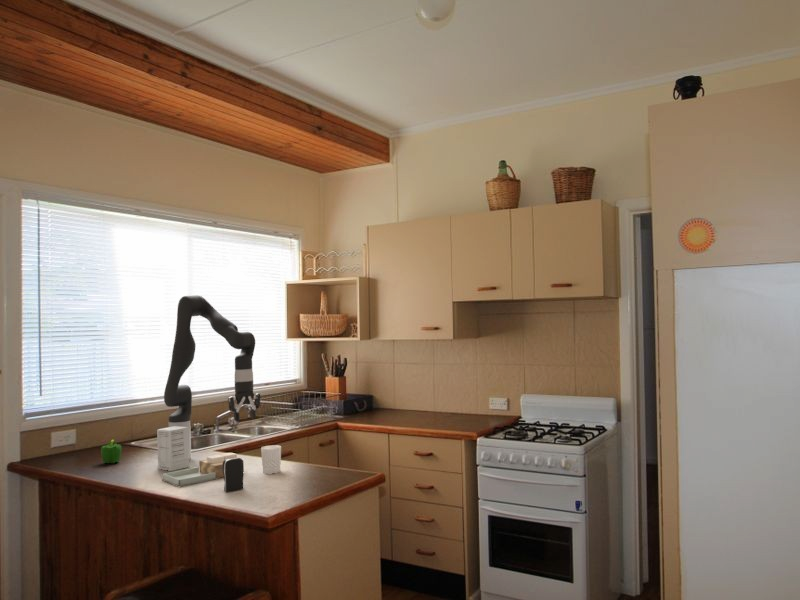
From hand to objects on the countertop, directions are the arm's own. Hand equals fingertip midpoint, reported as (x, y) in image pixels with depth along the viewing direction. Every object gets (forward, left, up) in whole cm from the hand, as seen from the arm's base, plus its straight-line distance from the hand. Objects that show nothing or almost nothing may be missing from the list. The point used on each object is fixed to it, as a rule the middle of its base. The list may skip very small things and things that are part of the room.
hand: (244, 420), depth 260 cm
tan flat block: (0, -11, -20) cm, 23 cm away
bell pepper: (-58, -34, -20) cm, 70 cm away
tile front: (0, -14, -15) cm, 20 cm away
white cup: (+15, +3, -20) cm, 25 cm away
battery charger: (+28, -21, -20) cm, 40 cm away
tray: (0, -25, -20) cm, 32 cm away
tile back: (0, -8, -15) cm, 17 cm away
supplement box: (-25, -20, -20) cm, 38 cm away
